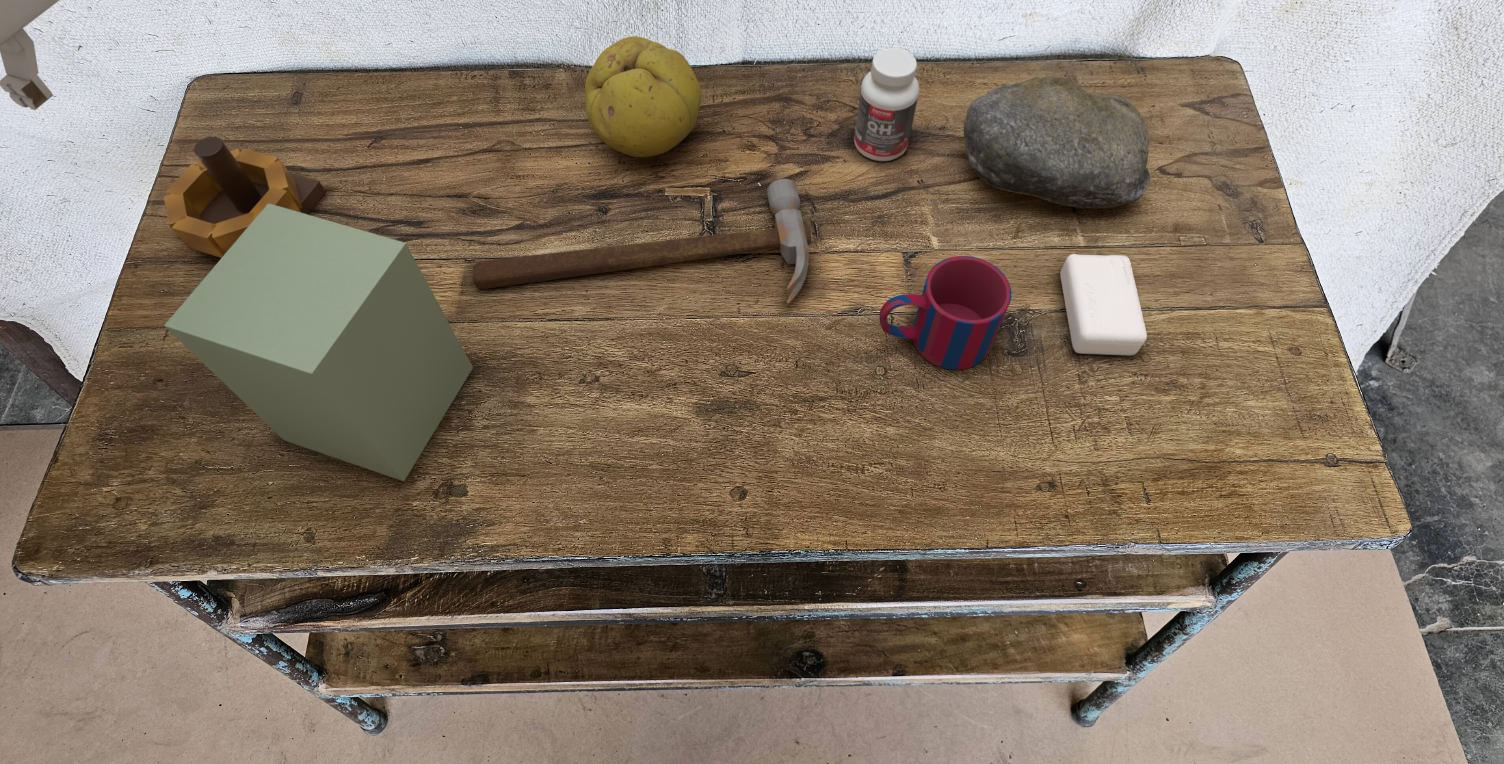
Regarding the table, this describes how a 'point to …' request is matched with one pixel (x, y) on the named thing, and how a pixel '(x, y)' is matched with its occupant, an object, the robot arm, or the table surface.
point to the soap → (1102, 305)
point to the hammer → (666, 250)
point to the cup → (954, 312)
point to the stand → (242, 184)
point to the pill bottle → (887, 105)
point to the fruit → (642, 97)
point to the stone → (1058, 143)
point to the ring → (201, 189)
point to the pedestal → (328, 339)
